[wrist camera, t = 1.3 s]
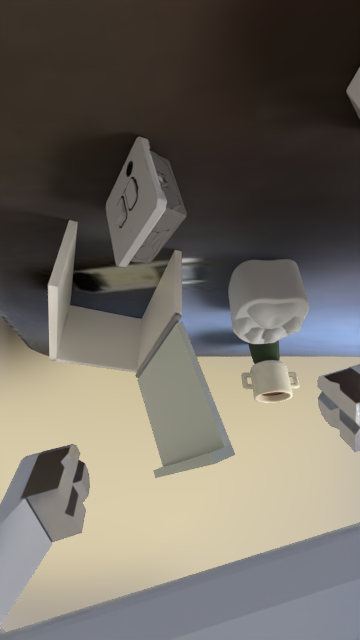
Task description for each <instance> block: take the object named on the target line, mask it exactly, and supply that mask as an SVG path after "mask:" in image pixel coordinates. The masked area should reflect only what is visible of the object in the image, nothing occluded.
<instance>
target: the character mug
mask: <svg viewBox="0 0 360 640" xmlns="http://www.w3.org/2000/svg"><path fill="white" fill-rule="evenodd" d="M248 344H249V348H250V352H251V355H252V359H253V362H254V363H255V365H253V366H252V368H251V371H250V372H251V373H242V384H243V387H244V388H245V389H253V392H254V399H255V400H256V401H258V402H263V403H273V402H280V401H284V400H287V399H289V398H291V397H292V389H291V388H299V381H298V377H297V374H296V373H295V372H288V370H287V367H286V365H285V364H284V363H283V362H281V361H279V357H280V356H279V341H278V340H277V341H276V342H274V343H267V344H251V343H248ZM247 377H251V380H252V384H247ZM289 377H293V381H294V383H293V384H291V383H290V380H289Z"/></svg>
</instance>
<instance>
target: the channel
mask: <svg viewBox="0 0 360 640" xmlns="http://www.w3.org/2000/svg"><path fill="white" fill-rule="evenodd" d="M77 223H78V222H75V221H72V220H69V222H68V225H67V228H66V231H65V234H64V237H63V240H62V243H61V247H60V250H59V253H58V256H57V259H56V262H55V265H54V268H53V271H52V274H51V277H50V280H49V283H48V308H49V350H50V360H51V361H57V362H65V363H72V364H79V365H86V366H94V367H101V368H108V369H115V370H122V371H130V372H137V374H136V377H137V378H139V377H140V376H141V374H142V373H143V371H144V370H145V368H146V367H147V365H148V364H149V363H150V361H151V360H152V358H153V357H154V355H155V354H156V352H157V351H158V349H159V348H160V347H161V345H162V344H163V342H164V341H165V339H166V338H167V336H168V335H169V333H170V332H171V331H172V329H173V328H174V326H175V325H176V323H178V322H179V320H180V319H181V317H182V316H181V314H182V251H178V250H174V252H173V255H172V257H171V259H170V261H169V263H168V265H167V267H166V269H165V271H164V273H163V275H162V277H161V279H160V282H159V284H158V286H157V288H156V290H155V292H154V294H153V296H152V298H151V300H150V302H149V304H148V306H147V309H146V311H145V313H144V315H143V317H142V319H139V318H133V317H128V316H123V315H118V314H113V313H108V312H103V311H98V310H93V309H88V308H83V307H77V306H72V305H70V303H71V292H72V281H73V269H74V258H75V246H76V235H77Z"/></svg>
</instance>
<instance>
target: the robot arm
mask: <svg viewBox="0 0 360 640" xmlns="http://www.w3.org/2000/svg"><path fill="white" fill-rule="evenodd" d="M318 388H319V389H320V390H322V393H321V394H320V396H319V397H318V403H319V408H320V411H321V414H322V415H323V417H324V419H325V420H326V421H327V422H328V424H329V425H330V426H332V427H335V428H337V429H340V436H341V438H342V439H343V440H344V441H345V442H346V443H347V444H348V445H349V446H350V447H351V448H352V449H353V450H354V451H355V452H357V451H360V364H359V365H356V366H353V367H349V368H347V369H344V370H340V371H336V372H333V373H329V374H326V375H322V376H319V378H318ZM79 455H80V452H79V450H78V448H77V446H76V445H74V444H71V445H67V446H63V447H59V448H55V449H51V450H47V451H43V452H41V453H36V454H33V455H29V456H26V457H25V458H23V459H22V460H21V463H20V465H19V467H18V469H17V471H16V473H15V475H14V477H13V479H12V481H11V483H10V485H9V488H8V490H7V492H6V494H5V496H4V498H3V500H2V502H1V504H0V640H360V523H357V524H354V525H350V526H347V527H344V528H341V529H338V530H334V531H331V532H328V533H324V534H322V535H318V536H315V537H312V538H309V539H305V540H302V541H299V542H296V543H292V544H289V545H286V546H283V547H280V548H277V549H273V550H270V551H267V552H264V553H260V554H257V555H254V556H251V557H248V558H244V559H241V560H238V561H235V562H232V563H228V564H225V565H222V566H219V567H216V568H212V569H209V570H206V571H202V572H199V573H196V574H193V575H190V576H186V577H183V578H180V579H177V580H173V581H170V582H167V583H164V584H160V585H157V586H154V587H151V588H148V589H144V590H142V591H138V592H135V593H131V594H128V595H125V596H122V597H118V598H116V599H112V600H109V601H106V602H102V603H99V604H96V605H93V606H89V607H86V608H83V609H80V610H77V611H73V612H70V613H67V614H64V615H60V616H57V617H54V618H51V619H48V620H44V621H41V622H38V623H35V624H32V625H29V626H25V627H22V628H19V629H16V630H12V631H9V632H5V631H4V630H3V629H2V628H1V624H2V622H3V621H4V619H5V618H6V616H7V615H8V613H9V611H10V610H11V608H12V607H13V605H14V604H15V602H16V601H17V599H18V597H19V596H20V594H21V593H22V591H23V589H24V588H25V586H26V585H27V583H28V582H29V580H30V578H31V577H32V575H33V574H34V572H35V570H36V569H37V567H38V566H39V564H40V563H41V561H42V559H43V558H44V556H45V555H46V553H47V552H48V550H49V549H50V547H51V545H52V542H55V541H58V540H61V539H64V538H67V537H70V536H73V535H76V534H79V533H82V528H83V522H84V517H85V512H86V509H85V507H84V505H83V502H84V501H85V499H86V498H87V497H88V494H89V488H90V483H89V473H88V469H87V467H86V465H85V463H83V462H81V461H80V460H79Z"/></svg>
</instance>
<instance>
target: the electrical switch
mask: <svg viewBox="0 0 360 640" xmlns="http://www.w3.org/2000/svg"><path fill="white" fill-rule="evenodd" d="M149 149H150V145H149V141H148V139H145V138H142V137H138V138H136V140H135V143H134V145H133V147H132V149H131V151H130V153H129V155H128V157H127V160H126V162H125V164H124V166H123V168H122V170H121V172H120V174H119V176H118V179H117V181H116V183H115V185H114V187H113V189H112V191H111V193H110V196H109V198H108V200H107V202H106V214H107V220H108V225H109V230H110V235H111V241H112V246H113V251H114V257H115V262H116V265H117V266H120V267H124V268H126V266H127V265H128V263H129V262H130V261H132V262H142V263H147V264H150V263H151V261H152V260H153V259H154V258H155V256H156V255H157V254H158V252H159V251H160V250H161V248H162V247H163V246H164V245H165V243H166V242H167V241H168V239H169V238H170V237H171V236H172V234H173V233H174V232H175V230H176V229H177V228H178V227H179V225H180V224H181V223H182V221H183V220H184V219H185V217H186V216H187V215H186V214H187V213H186V210H185V207H184V204H183V201H182V198H181V195H180V192H179V189H178V186H177V183H176V180H175V177H174V174H173V171H172V168H171V165H170V162H169V160H167V159H165V158H163V157H160V156H159V155H157V154H156V153H155V152H152V151H150V150H149ZM161 173H162V174H164V175H161ZM163 179H164V180H165V181H166V182H163ZM180 212H181V213H180ZM183 213H185V214H183ZM176 221H177V223H176ZM151 231H152V233H151ZM159 232H160V233H159ZM144 242H145V243H144ZM150 244H151V245H150Z"/></svg>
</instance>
